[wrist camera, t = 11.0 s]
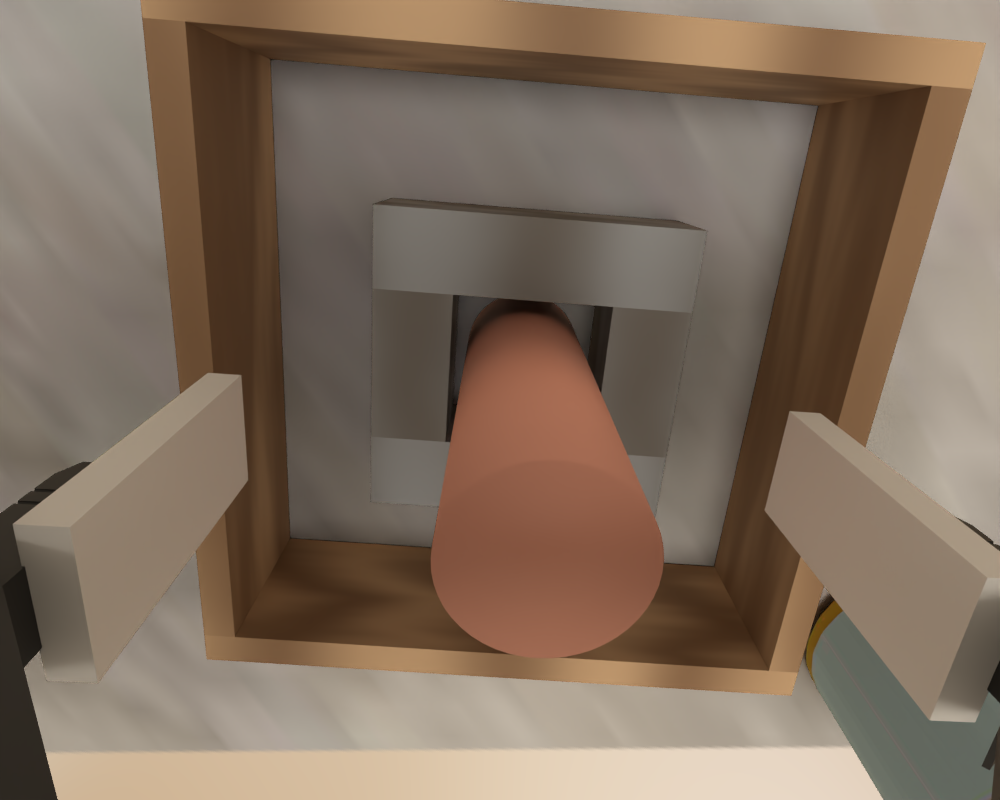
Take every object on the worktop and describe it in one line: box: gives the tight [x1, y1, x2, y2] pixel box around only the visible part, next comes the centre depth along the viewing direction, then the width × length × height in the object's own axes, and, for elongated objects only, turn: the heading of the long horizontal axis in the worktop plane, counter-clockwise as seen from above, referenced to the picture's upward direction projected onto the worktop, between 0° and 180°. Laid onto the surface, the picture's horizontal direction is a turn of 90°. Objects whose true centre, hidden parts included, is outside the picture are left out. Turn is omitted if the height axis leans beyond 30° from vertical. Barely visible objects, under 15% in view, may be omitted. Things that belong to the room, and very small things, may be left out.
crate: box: [141, 0, 986, 696], centre depth 21 cm, size 20×20×6 cm
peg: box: [431, 298, 664, 658], centre depth 18 cm, size 4×4×14 cm
